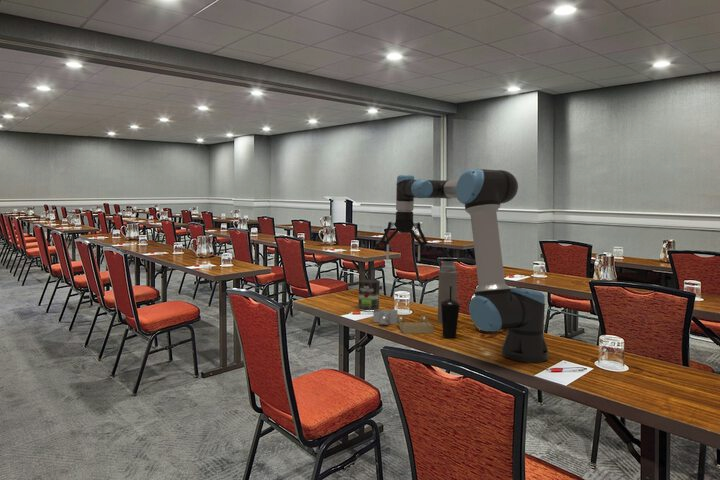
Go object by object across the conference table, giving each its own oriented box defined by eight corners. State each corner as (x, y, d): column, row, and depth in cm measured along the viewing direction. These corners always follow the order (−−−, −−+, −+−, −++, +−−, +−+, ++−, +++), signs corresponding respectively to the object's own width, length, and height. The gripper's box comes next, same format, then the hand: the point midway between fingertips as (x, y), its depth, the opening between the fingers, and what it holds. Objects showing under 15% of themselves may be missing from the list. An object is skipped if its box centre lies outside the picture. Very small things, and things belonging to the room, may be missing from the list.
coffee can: (376, 312, 233) (376, 283, 232) (355, 310, 236) (355, 281, 235) (381, 308, 243) (382, 279, 242) (361, 306, 246) (362, 278, 245)
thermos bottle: (437, 319, 221) (438, 257, 219) (455, 319, 220) (456, 257, 218) (438, 323, 213) (439, 259, 211) (456, 324, 212) (458, 259, 210)
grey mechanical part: (374, 320, 219) (375, 309, 219) (397, 321, 218) (397, 310, 217) (371, 326, 207) (371, 315, 207) (395, 327, 206) (395, 316, 206)
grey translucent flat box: (433, 333, 198) (433, 322, 197) (403, 333, 196) (403, 322, 196) (425, 325, 210) (425, 314, 210) (396, 325, 209) (397, 315, 209)
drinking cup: (459, 340, 188) (460, 288, 186) (439, 339, 189) (440, 287, 188) (459, 335, 195) (460, 285, 194) (440, 333, 197) (441, 284, 195)
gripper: (434, 211, 214) (432, 260, 216) (377, 210, 218) (376, 257, 220) (433, 212, 207) (431, 262, 209) (374, 210, 211) (373, 259, 213)
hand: (403, 260), depth 215 cm, fingers open, 13 cm apart
